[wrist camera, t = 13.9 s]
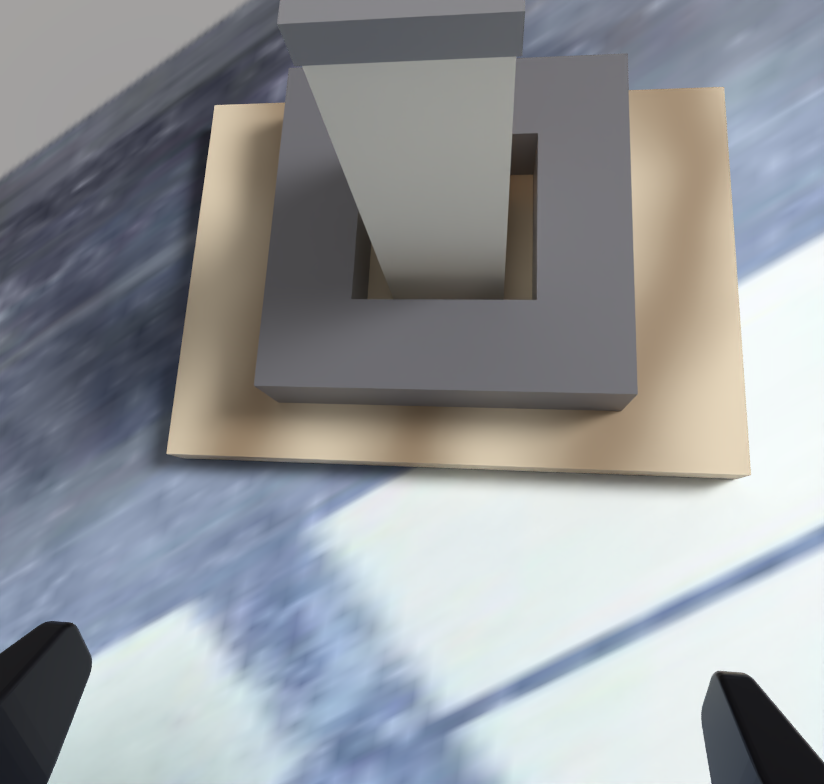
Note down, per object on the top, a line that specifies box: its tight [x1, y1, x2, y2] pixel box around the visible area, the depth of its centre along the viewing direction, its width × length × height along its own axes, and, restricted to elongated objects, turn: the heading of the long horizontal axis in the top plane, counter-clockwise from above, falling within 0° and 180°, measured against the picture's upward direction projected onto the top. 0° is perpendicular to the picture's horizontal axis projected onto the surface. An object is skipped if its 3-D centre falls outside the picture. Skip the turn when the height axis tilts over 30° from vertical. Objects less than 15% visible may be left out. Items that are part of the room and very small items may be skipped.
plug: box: [277, 0, 525, 300], centre depth 18 cm, size 4×5×13 cm
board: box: [166, 87, 751, 479], centre depth 24 cm, size 20×14×1 cm
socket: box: [254, 54, 638, 411], centre depth 23 cm, size 12×12×2 cm
